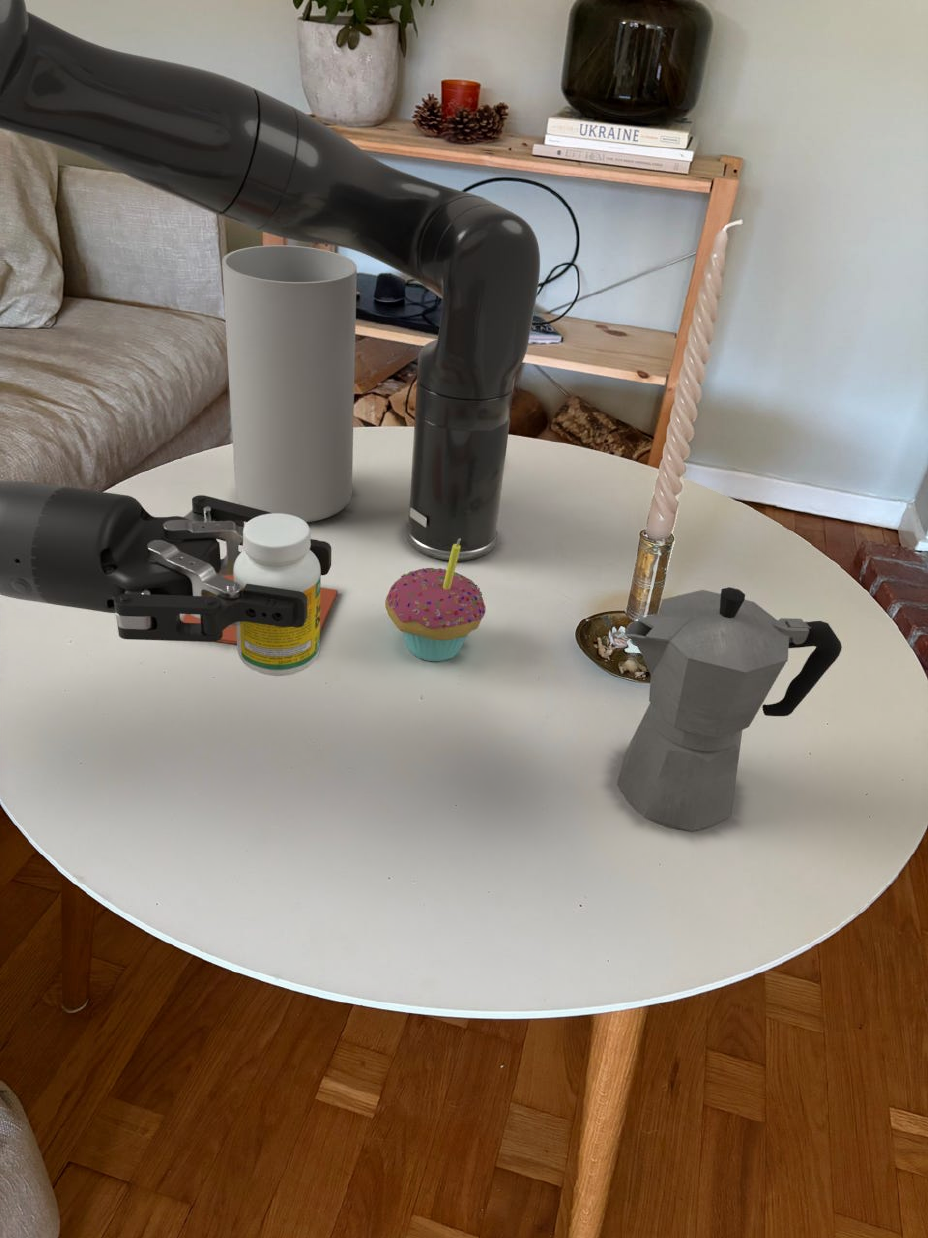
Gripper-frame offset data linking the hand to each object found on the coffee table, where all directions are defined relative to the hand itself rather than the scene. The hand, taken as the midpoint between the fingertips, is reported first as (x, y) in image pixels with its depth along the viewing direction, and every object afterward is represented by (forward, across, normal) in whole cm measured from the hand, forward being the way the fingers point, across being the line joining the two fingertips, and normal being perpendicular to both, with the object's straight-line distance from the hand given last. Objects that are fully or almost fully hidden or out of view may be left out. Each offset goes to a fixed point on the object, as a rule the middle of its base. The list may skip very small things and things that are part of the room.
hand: (317, 583), depth 60 cm
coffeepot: (+28, +6, +18) cm, 33 cm away
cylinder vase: (-13, +42, +18) cm, 47 cm away
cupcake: (+6, +19, +18) cm, 26 cm away
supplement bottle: (-3, 0, +6) cm, 7 cm away
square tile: (-10, +20, +18) cm, 28 cm away
